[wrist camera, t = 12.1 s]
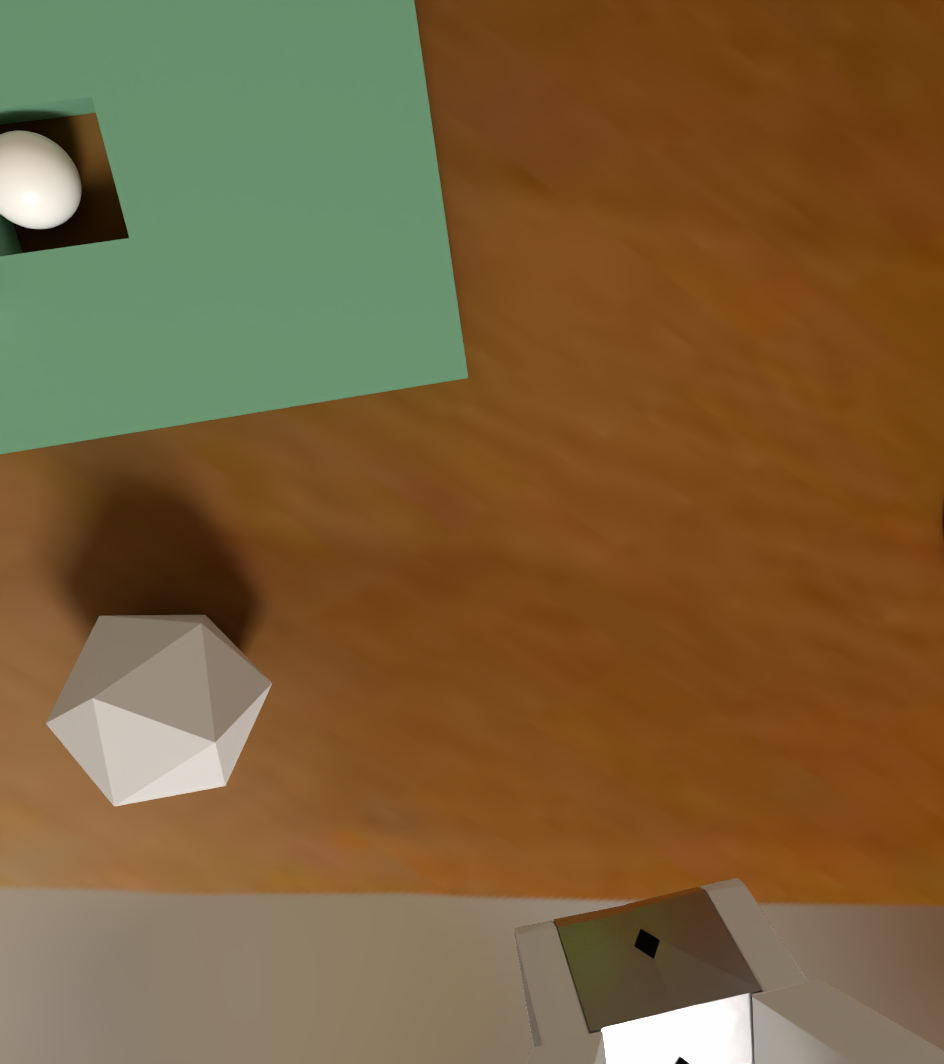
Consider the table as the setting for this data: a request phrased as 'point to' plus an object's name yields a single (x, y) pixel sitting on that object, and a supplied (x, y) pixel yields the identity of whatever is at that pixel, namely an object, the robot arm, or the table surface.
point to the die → (158, 706)
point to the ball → (36, 181)
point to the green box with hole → (227, 215)
